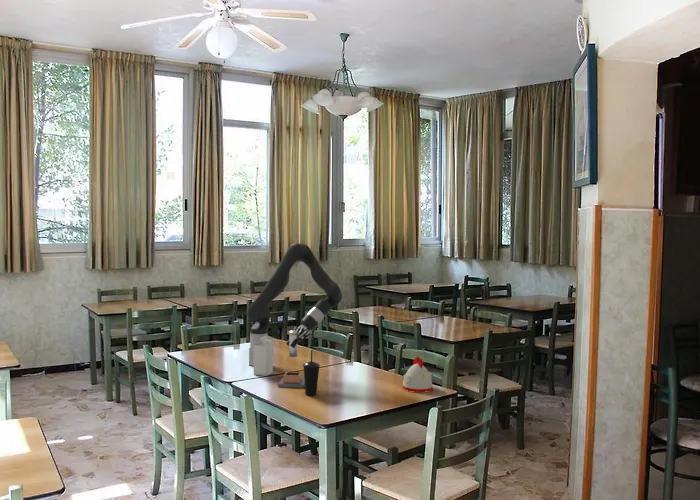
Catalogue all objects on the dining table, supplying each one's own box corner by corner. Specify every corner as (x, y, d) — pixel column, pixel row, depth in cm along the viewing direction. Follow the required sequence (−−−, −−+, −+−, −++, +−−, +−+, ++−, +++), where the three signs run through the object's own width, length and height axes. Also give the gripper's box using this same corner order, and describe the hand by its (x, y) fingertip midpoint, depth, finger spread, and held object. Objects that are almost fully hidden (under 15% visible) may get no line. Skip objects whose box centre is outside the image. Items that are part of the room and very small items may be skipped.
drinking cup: (312, 397, 275) (313, 352, 275) (298, 395, 279) (299, 350, 279) (322, 394, 282) (323, 350, 281) (309, 391, 286) (309, 347, 285)
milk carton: (253, 374, 315) (254, 337, 315) (260, 371, 322) (261, 335, 321) (265, 376, 313) (266, 338, 312) (272, 373, 319) (273, 336, 319)
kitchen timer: (412, 393, 285) (413, 361, 285) (397, 386, 298) (398, 355, 297) (438, 391, 291) (438, 359, 291) (422, 384, 304) (423, 353, 303)
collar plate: (277, 386, 293) (278, 376, 292) (282, 380, 305) (282, 370, 304) (303, 387, 292) (303, 377, 292) (306, 381, 304) (307, 371, 304)
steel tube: (288, 357, 296) (288, 331, 295) (289, 355, 300) (289, 330, 300) (297, 357, 296) (297, 332, 295) (298, 355, 300) (298, 330, 299)
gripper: (301, 311, 307) (278, 338, 301) (314, 315, 295) (290, 343, 289) (311, 321, 310) (288, 348, 304) (324, 326, 297) (301, 353, 292)
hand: (289, 345), depth 297 cm, fingers closed on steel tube, 4 cm apart
